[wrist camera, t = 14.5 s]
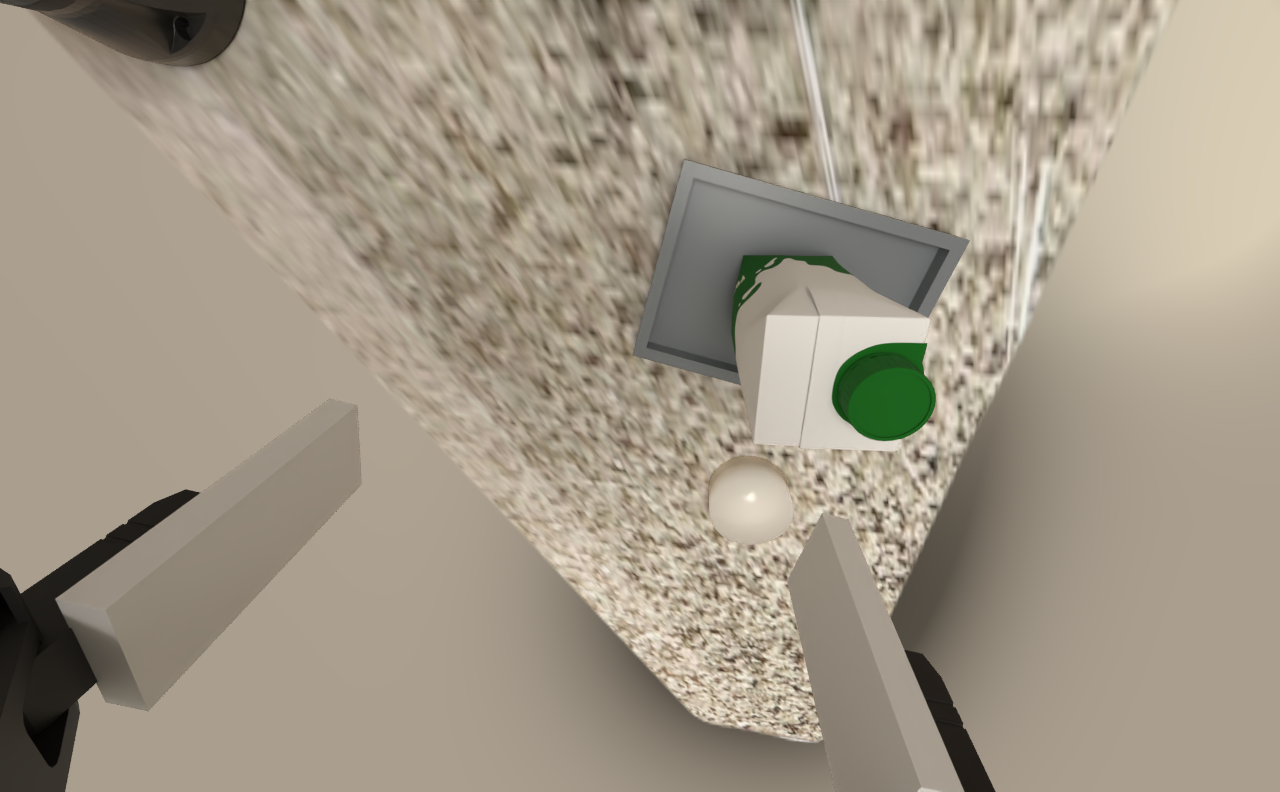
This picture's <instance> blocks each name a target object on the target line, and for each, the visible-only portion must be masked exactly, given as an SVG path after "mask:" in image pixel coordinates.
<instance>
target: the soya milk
mask: <svg viewBox="0 0 1280 792" xmlns="http://www.w3.org/2000/svg"><path fill="white" fill-rule="evenodd" d="M930 321H931V319H930V318H928V317H926V316H924V315H922V314H920V313H917V312H915V311H913V310H911V309H909V308H907V307H905V306H903V305H901V304H898V303H896V302H894V301H892V300H890V299H888V298H886V297H884V296H882V295H880V294H878V293H876V292H874V291H873V290H871V289H870V288H869V287H867V286H866V285H865V284H864V283H862V282H861V281H860V280H859V279H857V278H856V277H855V276H853V275H852V274H851V273H850V272H848V271H847V270H846V269H845V268H843V267H842V266H841V265H839V263H838V262H837V261H836V260H835V258H834V257H833V256H793V255H743V259H742V263H741V267H740V271H739V275H738V279H737V284H736V288H735V292H734V300H733V312H732V327H731V335H732V341H733V346H734V351H735V357H736V362H737V368H738V373H739V378H740V383H741V387H742V391H743V396H744V400H745V405H746V410H747V414H748V419H749V424H750V429H751V434H752V439H753V444H760V445H783V446H798V447H799V448H800V449H815V450H818V449H841V450H871V451H897V450H898V447H899V443H900V439H902V438H905V437H907V436H909V435H911V434H913V433H915V432H916V431H918V430H919V429H920V428H921V427H922V426H923V425H924V424H925V423H926V422H927V421H928V419H929V418H930V416H931V415H932V413H933V410H934V407H935V402H936V396H935V395H936V394H935V391H934V388H933V386H932V383H931V382H930V381H929V380H928V378H927V377H926V376H925V375H924V369H923V364H922V361H923V358H924V355H925V351H926V347H927V343H925V340H926V336H927V333H928V329H929V325H930Z"/></svg>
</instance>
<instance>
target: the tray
mask: <svg viewBox="0 0 1280 792" xmlns="http://www.w3.org/2000/svg"><path fill="white" fill-rule="evenodd" d="M969 241H970V240H967V239H964V238H961V237H958V236H955V235H951V234H947V233H944V232H940V231H937V230H933V229H930V228H926V227H923V226H919V225H916V224H912V223H909V222H905V221H902V220H898V219H894V218H891V217H887V216H884V215H880V214H877V213H873V212H870V211H866V210H863V209H859V208H856V207H852V206H849V205H845V204H841V203H838V202H834V201H831V200H827V199H824V198H820V197H817V196H813V195H810V194H806V193H803V192H799V191H796V190H792V189H788V188H785V187H781V186H778V185H774V184H771V183H767V182H764V181H760V180H757V179H753V178H750V177H746V176H743V175H739V174H735V173H732V172H728V171H725V170H721V169H718V168H714V167H711V166H707V165H704V164H700V163H697V162H693V161H690V160H686V159H684V162H683V166H682V170H681V174H680V177H679V181H678V185H677V189H676V193H675V196H674V200H673V204H672V208H671V212H670V215H669V219H668V223H667V227H666V230H665V234H664V238H663V242H662V246H661V249H660V253H659V257H658V261H657V265H656V268H655V272H654V276H653V280H652V283H651V287H650V291H649V295H648V299H647V302H646V306H645V310H644V314H643V318H642V321H641V325H640V329H639V333H638V336H637V340H636V344H635V348H634V352H633V355H634V356H637V357H641V358H645V359H648V360H652V361H655V362H659V363H663V364H666V365H670V366H674V367H677V368H681V369H684V370H688V371H692V372H695V373H699V374H703V375H706V376H710V377H714V378H717V379H721V380H724V381H728V382H732V383H735V384H739V385H741V383H740V378H739V373H738V368H737V362H736V357H735V351H734V346H733V341H732V335H731V327H732V312H733V300H734V292H735V288H736V284H737V279H738V275H739V271H740V267H741V263H742V259H743V255H793V256H833V257H834V258H835V260H836V261H837V262H838V263H839V265H841V266H842V267H843V268H845V269H846V270H847V271H848V272H850V273H851V274H852V275H853V276H855V277H856V278H857V279H859V280H860V281H861V282H862V283H864V284H865V285H866V286H867V287H869V288H870V289H871V290H873V291H874V292H876V293H878V294H880V295H882V296H884V297H886V298H888V299H890V300H892V301H894V302H896V303H898V304H901V305H903V306H905V307H907V308H909V309H911V310H913V311H915V312H917V313H920V314H922V315H924V316H926V317H929V315H930V313H931V312H932V310H933V308H934V306H935V304H936V302H937V300H938V299H939V297H940V295H941V293H942V291H943V289H944V287H945V286H946V284H947V282H948V280H949V278H950V276H951V275H952V273H953V271H954V269H955V267H956V265H957V263H958V262H959V260H960V258H961V256H962V254H963V252H964V250H965V249H966V247H967V245H968V243H969Z"/></svg>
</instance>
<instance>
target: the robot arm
mask: <svg viewBox="0 0 1280 792" xmlns="http://www.w3.org/2000/svg"><path fill="white" fill-rule="evenodd" d="M0 3H3V4H9V5H13V6H18V7H22V8H27V9H31V10H36V11H39V12H41V13H43V14H45V15H47V16H48V17H50V18H52V19H54V20H56V21H58V22H60V23H62V24H64V25H66V26H68V27H70V28H72V29H74V30H76V31H78V32H80V33H82V34H84V35H86V36H88V37H90V38H92V39H94V40H96V41H98V42H100V43H102V44H104V45H106V46H108V47H110V48H112V49H114V50H116V51H118V52H121V53H123V54H126V55H128V56H131V57H134V58H137V59H141V60H145V61H151V62H157V63H163V64H168V65H175V66H190V65H196V64H200V63H203V62H206V61H208V60H210V59H212V58H213V57H215V56H216V55H218V54H219V53H220V52H221V51H222V50H223V49H224V48H225V47H226V46H227V45H228V43H229V42H230V41H231V39H232V38H233V36H234V34H235V32H236V30H237V27H238V25H239V22H240V19H241V15H242V11H243V5H244V0H0ZM361 484H362V481H361V463H360V445H359V427H358V408H357V405H354V404H349V403H345V402H341V401H336V400H332V399H329V400H327V401H326V402H324V403H323V404H322V405H320V406H319V407H318V408H316V409H315V410H314V411H312V412H311V413H309V414H308V415H307V416H305V417H304V418H303V419H301V420H300V421H298V422H297V423H296V424H294V425H293V426H292V427H290V428H289V429H287V430H286V431H285V432H283V433H282V434H281V435H279V436H278V437H277V438H275V439H274V440H272V441H271V442H270V443H268V444H267V445H266V446H264V447H263V448H261V449H260V450H259V451H257V452H256V453H255V454H253V455H252V456H251V457H249V458H248V459H247V460H245V461H244V462H242V463H241V464H240V465H238V466H237V467H235V468H234V469H233V470H231V471H230V472H229V473H227V474H226V475H225V476H223V477H222V478H220V479H219V480H218V481H216V482H215V483H214V484H212V485H211V486H209V487H208V488H207V489H205V490H204V491H203V492H201V493H199V492H195V491H190V490H183V491H181V492H179V493H176V494H174V495H171V496H169V497H166V498H164V499H161V500H159V501H157V502H154V503H153V504H151V505H150V506H148V507H147V508H145V509H144V510H143V511H141V512H140V513H138V514H137V515H136V516H134V517H132V518H131V519H129V520H128V522H127V524H125V525H124V524H122V525H121V526H119V527H118V528H116V529H115V530H113V531H112V532H110V533H109V534H107V535H106V538H105V539H103V540H102V539H100V540H99V541H97V542H96V543H95V544H93V545H92V546H90V547H88V548H87V549H86V550H84V551H83V552H81V553H80V554H78V555H77V556H75V557H74V558H72V559H71V560H69V561H68V562H66V563H65V564H64V565H62V566H61V567H59V568H58V569H56V570H55V571H53V572H52V573H51V574H49V575H47V576H46V577H45V578H43V579H42V580H40V581H39V582H37V583H36V584H34V585H33V586H31V587H30V588H29V589H27V590H26V591H24V592H23V593H21V594H20V592H19V590H18V588H17V586H16V585H15V583H14V581H13V579H12V577H11V575H10V574H8V573H7V572H5V571H4V570H2V569H1V568H0V792H65V789H66V783H67V778H68V773H69V768H70V762H71V757H72V752H73V747H74V741H75V736H76V731H77V725H78V720H79V715H80V710H79V704H78V701H77V700H78V699H79V698H80V697H81V696H82V695H83V694H85V693H86V692H87V691H88V690H89V689H90V688H91V687H92V686H93V685H94V684H95V683H97V686H98V687H99V690H100V691H101V694H102V695H103V698H104V700H105V701H106V702H107V703H112V704H117V705H121V706H126V707H131V708H136V709H141V710H145V711H149V710H150V709H151V708H152V707H153V706H154V705H155V704H156V703H157V702H158V701H159V699H160V698H161V697H162V696H163V695H164V694H165V693H166V692H167V691H168V690H169V689H170V688H171V687H172V686H173V684H174V683H175V682H176V681H177V680H178V679H179V678H180V677H181V676H182V675H183V674H184V673H185V672H186V671H187V670H188V668H189V667H190V666H191V665H192V664H193V663H194V662H195V661H196V660H197V659H198V658H199V657H200V656H201V655H202V654H203V653H204V651H205V650H206V649H207V648H208V647H209V646H210V645H211V644H212V643H213V642H214V641H215V640H216V639H217V638H218V637H219V636H220V634H221V633H222V632H223V631H224V630H225V629H226V628H227V627H228V626H229V625H230V624H231V623H232V622H233V621H234V620H235V619H236V617H237V616H238V615H239V614H240V613H241V612H242V611H243V610H244V609H245V608H246V607H247V606H248V604H250V603H251V601H252V600H253V599H254V598H255V597H256V596H257V595H258V594H259V593H260V592H261V591H262V590H263V589H264V588H265V586H266V585H267V584H268V583H269V582H270V581H271V580H272V579H273V578H274V577H275V576H276V575H277V574H278V572H280V571H281V570H282V568H283V567H284V566H285V565H286V564H287V563H288V562H289V561H290V560H291V559H292V558H293V557H294V556H295V555H296V554H297V552H298V551H299V550H300V549H301V548H302V547H303V546H304V545H305V544H306V543H307V542H308V541H309V540H310V539H311V538H312V536H313V535H314V534H315V533H316V532H317V531H318V530H319V529H320V528H321V527H322V526H323V525H324V524H325V523H326V522H327V521H328V519H329V518H330V517H331V516H332V515H333V514H334V513H335V512H336V511H337V510H338V509H339V508H340V507H341V506H342V505H343V503H344V502H345V501H346V500H347V499H348V498H349V497H350V496H351V495H352V494H353V493H354V492H355V491H356V490H357V489H358V488H359V486H360V485H361ZM787 582H788V587H789V591H790V596H791V600H792V604H793V609H794V613H795V618H796V622H797V626H798V631H799V635H800V640H801V644H802V648H803V653H804V657H805V662H806V666H807V670H808V675H809V679H810V684H811V688H812V692H813V697H814V701H815V705H816V710H817V714H818V719H819V723H820V727H821V732H822V736H823V741H824V745H825V749H826V754H827V758H828V763H829V767H830V771H831V776H832V780H833V785H834V789H835V792H995V790H994V788H993V786H992V783H991V781H990V779H989V777H988V775H987V773H986V771H985V769H984V766H983V764H982V762H981V760H980V758H979V756H978V754H977V752H976V750H975V748H974V745H973V743H972V741H971V739H970V737H969V735H968V733H967V731H966V729H964V728H963V722H962V720H961V718H960V716H959V714H958V712H957V709H956V708H955V707H953V701H952V699H951V697H950V695H949V692H948V690H947V688H946V686H945V684H944V682H943V680H942V678H941V676H940V675H939V674H938V673H937V671H936V670H935V669H934V668H933V667H932V665H931V664H930V663H929V661H928V660H927V659H926V658H925V656H924V655H923V654H920V653H916V652H912V651H908V650H904V649H903V647H902V644H901V642H900V640H899V637H898V635H897V632H896V630H895V628H894V625H893V623H892V621H891V618H890V616H889V614H888V611H887V609H886V606H885V604H884V602H883V599H882V597H881V595H880V592H879V590H878V588H877V585H876V583H875V581H874V578H873V576H872V574H871V571H870V569H869V567H868V564H867V562H866V559H865V557H864V555H863V552H862V550H861V548H860V545H859V543H858V541H857V538H856V536H855V534H854V531H853V529H852V527H851V524H850V522H849V519H845V518H841V517H836V516H832V515H828V514H823V513H822V514H821V516H820V518H819V520H818V522H817V524H816V526H815V528H814V530H813V532H812V534H811V536H810V538H809V540H808V541H807V543H806V545H805V547H804V549H803V551H802V553H801V555H800V557H799V559H798V561H797V563H796V565H795V567H794V569H793V571H792V573H791V574H790V576H789V578H788V580H787Z"/></svg>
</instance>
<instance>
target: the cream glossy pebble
mask: <svg viewBox="0 0 1280 792" xmlns="http://www.w3.org/2000/svg"><path fill="white" fill-rule="evenodd" d="M709 514H710V519H711V522H712V524H713V526H714V528H715V529H716V530H717V531H718V532H719V533H720V534H721V535H722V536H724V537H725V538H727V539H729V540H731V541H734V542H737V543H741V544H752V545H753V544H761V543H766V542H769V541H771V540H774V539H775V538H777V537H779V536H780V535H782V534H783V533H784V532H785V531H786V530H787V528H788V527H789V526H790V524H791V522H792V519H793V515H794V507H793V503H792V499H791V496H790V492H789V488H788V484H787V481H786V478H785V475H784V473H783V472H782V470H781V469H780V468H779V467H778V466H777V465H775V464H774V463H772V462H771V461H769V460H767V459H764V458H761V457H756V456H741V457H736V458H733V459H730V460H728V461H726V462H724V463H723V464H721V465H720V466H719V467H718V468H717V469H716V470H715V471H714V473H713V474H712V476H711V478H710V482H709Z"/></svg>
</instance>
